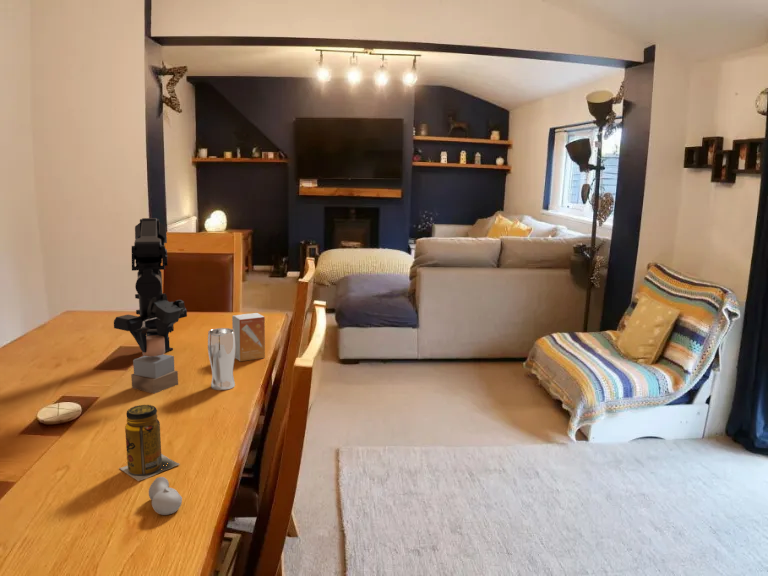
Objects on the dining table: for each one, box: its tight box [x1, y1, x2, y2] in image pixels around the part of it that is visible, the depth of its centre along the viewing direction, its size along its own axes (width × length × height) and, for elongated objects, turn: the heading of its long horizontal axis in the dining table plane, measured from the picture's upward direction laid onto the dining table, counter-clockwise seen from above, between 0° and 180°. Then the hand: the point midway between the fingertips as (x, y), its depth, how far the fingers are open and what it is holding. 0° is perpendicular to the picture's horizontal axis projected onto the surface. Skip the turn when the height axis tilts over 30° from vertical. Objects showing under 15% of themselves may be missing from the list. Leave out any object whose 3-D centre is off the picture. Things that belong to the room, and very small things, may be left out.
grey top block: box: [132, 353, 176, 379], centre depth 156 cm, size 7×7×4 cm
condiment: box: [119, 404, 180, 482], centre depth 113 cm, size 7×8×12 cm
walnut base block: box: [130, 370, 179, 395], centre depth 156 cm, size 8×8×4 cm
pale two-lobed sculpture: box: [148, 476, 183, 516], centre depth 101 cm, size 4×8×5 cm
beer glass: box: [207, 327, 236, 391], centre depth 156 cm, size 7×7×15 cm
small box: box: [231, 312, 266, 362], centre depth 181 cm, size 8×6×13 cm
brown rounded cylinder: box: [141, 335, 166, 356], centre depth 155 cm, size 6×6×4 cm
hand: (153, 349), depth 155 cm, fingers closed on brown rounded cylinder, 5 cm apart
